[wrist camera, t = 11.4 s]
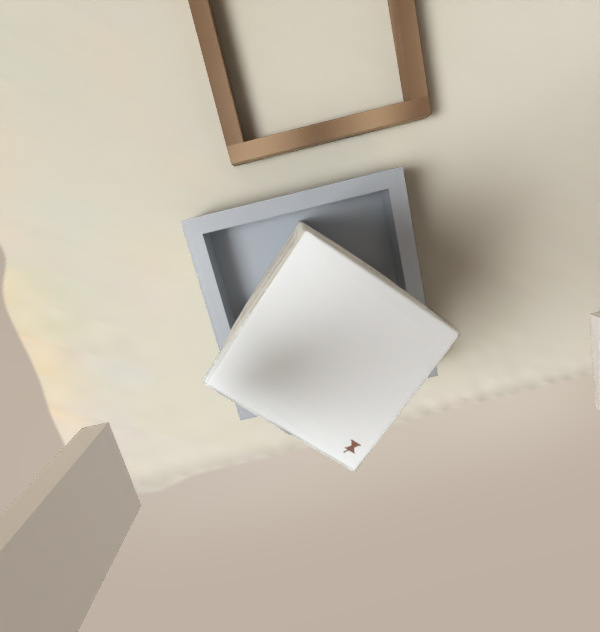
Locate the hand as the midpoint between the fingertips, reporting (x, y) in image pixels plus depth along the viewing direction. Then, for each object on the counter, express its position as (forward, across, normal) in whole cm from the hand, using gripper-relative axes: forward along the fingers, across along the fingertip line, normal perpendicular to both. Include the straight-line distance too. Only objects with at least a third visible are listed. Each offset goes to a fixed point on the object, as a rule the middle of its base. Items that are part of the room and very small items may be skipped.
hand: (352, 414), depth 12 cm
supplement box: (+18, 0, 0) cm, 18 cm away
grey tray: (+18, 0, 0) cm, 18 cm away
